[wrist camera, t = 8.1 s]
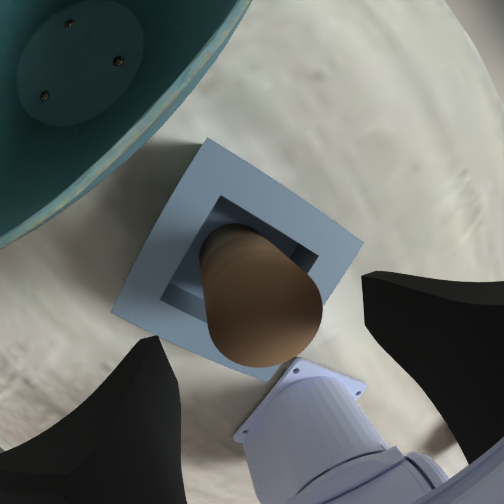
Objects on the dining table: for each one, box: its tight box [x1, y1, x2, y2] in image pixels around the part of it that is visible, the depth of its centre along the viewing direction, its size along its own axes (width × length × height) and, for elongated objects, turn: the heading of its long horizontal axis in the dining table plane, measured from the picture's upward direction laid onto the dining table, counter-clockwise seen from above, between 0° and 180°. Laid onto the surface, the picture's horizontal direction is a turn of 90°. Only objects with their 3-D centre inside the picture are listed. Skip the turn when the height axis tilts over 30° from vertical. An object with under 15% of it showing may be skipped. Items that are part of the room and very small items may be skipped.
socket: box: [111, 138, 364, 382], centre depth 17 cm, size 10×10×4 cm
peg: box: [199, 223, 323, 368], centre depth 14 cm, size 4×4×8 cm
